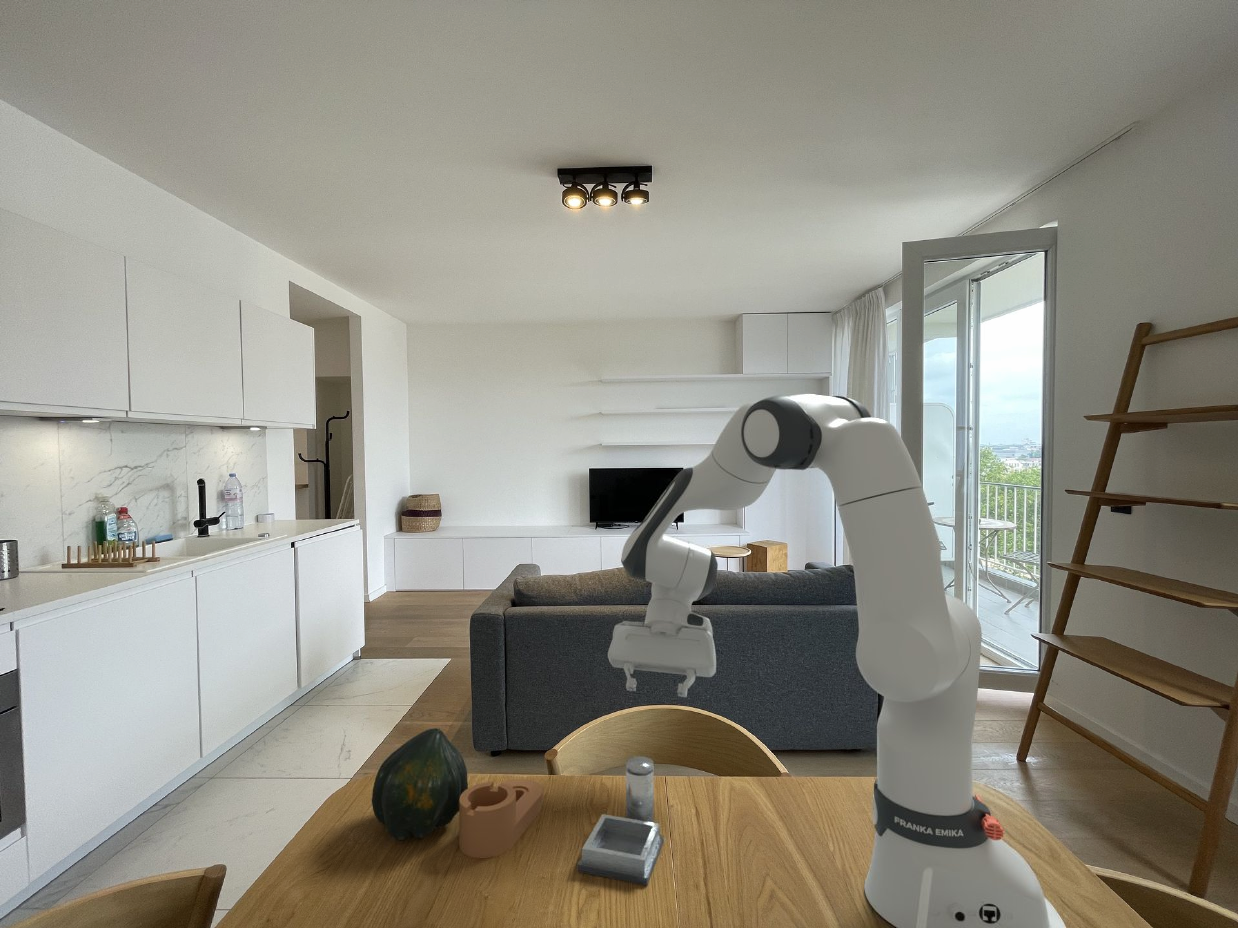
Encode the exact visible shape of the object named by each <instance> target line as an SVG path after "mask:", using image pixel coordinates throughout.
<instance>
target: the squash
mask: <svg viewBox="0 0 1238 928" xmlns="http://www.w3.org/2000/svg"><path fill="white" fill-rule="evenodd" d="M468 788H469V783H468V770H467V766H466V762H465V760H464V758H463V756H462V755H461V753H460V751H459V750H458V749H457V748H456V746H454V745H453V743H452V742H451V741H450V740H449V739H448V737H447V736H446V734H445V733H444V732H443V731H442V730H441V729H440V727H436V728H428V729H426V730H423V731H422V732H420V733H419V734H417V735H415V736H413V737H412V738H410V739H408V740H407V741H406V742H405V743H403V744H402V745H400V747H398V748H397V749H396V750H394V751H393V752H392V753H391V754H389V756H388V757H386V759H384V761H383V762H382V763H381V765H380V766H379V768H378V770H377V773H376V776H375V779H374V783H373V786H372V794H371V805H372V811H373V814H374V816H375V818H376V820H377V821H378V823H380V824H382V825H384V826H385V828H386V831H387V834H388V835H389V837H391V838H392V839H394V840H396V841H403V840H406V839H408V838H409V837H411V836H412V835H413V836H414V837H415V838H417V839H422V838H425V837H427V836H429V835H430V834H431V833H432V832H433V831H434V830H435V829H441V828H444V827H446V826H448V825H450V823H451V822H452V820H453V819H454V817H455V816H456V815H457V814H458V813H459V804H460V796H461V794H462V793H463V792H464V791H465V790H466V789H468Z"/></svg>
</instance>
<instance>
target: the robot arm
mask: <svg viewBox="0 0 1238 928" xmlns="http://www.w3.org/2000/svg"><path fill="white" fill-rule="evenodd" d="M807 469H818V470H821V471H822V472H823V473H824V474H825V475H826V477H827V478H828V481H829V482H830V485H831V488H832V491H833V495H834V499H835V504H836V506H837V510H838V513H839V518H840V520H841V524H842V528H843V532H844V535H845V536H844V537H845V538H846V542H847V546H848V550H849V553H850V557H851V563H852V567H853V573H854V576H853V577H854V584H855V595H856V596H855V597H856V607H857V618H858V619H857V620H858V637H857V642H856V647H855V658H856V659H855V660H856V664H857V668H858V670H859V672H860V674H861V676H862V677H863V679H864V680H865V682H866V683H867V684H868V686H869V687H871V689H873V690H874V691H875V692H877V694H879V695H881V696H883V702H882V707H881V710H880V714H879V716H878V719H877V725H876V736H877V737H876V747H877V748H876V755H877V756H876V757H877V758H876V770H877V771H876V773H877V775H876V776H877V778H876V779H875V780H874V783H873V792H872V822H873V826H874V830H875V832H874V833H875V835H874V843H873V848H872V849H873V850H872V855H871V856H872V857H871V861H870V864H869V868H868V869H869V870H868V873H867V875H866V879H865V881H864V887H863V888H864V889H863V890H864V894H865V896H866V899H867V902H868V903H869V904H870V905H871V907H872V908H873V909H874V911H875V912H877V913H878V915H879V916H881V917H882V918H883V919H884V920H885V921H887V922H888V923H890V924H891V925H893V926H894V927H896V928H1067V926H1066V925H1065V922H1064V920H1063V919H1062V917H1061V916H1060V914H1059V913H1058V911H1057V909H1056V908H1055V907H1054V906H1053V905H1052V903H1051V902H1050V901H1049V900H1048V899H1047V897H1045V896H1044V891H1043V890H1042V887H1041V883H1040V882H1039V880H1038V877H1037V875H1036V874H1035V873H1034V871H1033V870H1032V868H1031V866H1030V864H1028V862H1027V861H1026V860H1025V858H1024V857H1023V856H1022V855H1021V854H1020V853H1019V852H1018V851H1016V849H1014V848H1013V847H1011V846H1010V845H1009V844H1008V843H1006V842H1005V841H1004V840H1003V839H1002V838H1004V834H1005V832H1004V828H1003V827H1002V825H1001V824H1000V821H999V820H998V819H997V818H996V817H995V816H993V815H991V811H990V809H989V807H988V806H987V805H986V804H985V803H984V802H983V801H982V800H981V798H980V797H979V795H977V793H974V795H973V743H974V742H973V741H974V740H973V738H974V726H975V719H976V712H977V711H976V709H977V704H978V703H977V702H978V691H979V683H980V682H979V680H980V669H981V667H980V666H981V649H982V648H981V647H982V639H983V638H982V636H983V635H982V633H983V632H982V627H981V623H980V620H979V618H978V616H977V614H976V612H975V611H974V610H973V608H971V606H970V605H968V604H967V603H966V602H965V601H963V600H961V599H960V598H958V597H955V596H953V595H950V594H946V592H945V584H944V577H943V570H942V560H941V559H942V558H941V557H942V555H941V553H942V545H941V541H940V538H939V536H938V532H937V529H936V526H935V523H934V519H933V516H932V514H931V511H930V508H929V507H930V506H929V503H928V500H927V497H926V494H925V492H924V488H923V484H922V481H921V479H920V476H919V473H918V471H917V468H916V466H915V463H914V461H913V459H912V457H911V455H910V453H909V450H908V447H906V444H905V442H904V441H903V439H902V436H901V435H900V433H899V432H898V430H897V428H896V427H895V426H894V425H893V424H892V423H890V422H889V421H887V420H885V419H882V418H877V417H872V415H871V413H870V412H869V410H868V409H867V408H866V406H864V405H863V404H862V403H861V402H859V401H857V400H854V399H853V398H849V397H846V396H842V395H834V396H831V395H830V396H829V395H819V394H813V393H800V394H791V395H773V396H769V397H766V398H763V399H761V400H758V401H750V402H746V403H745V404H742V405H741V406H740V407H739V408H738V409H737V410H736V411H735V412H734V414H733V415H732V417H731V418H730V419H729V420H728V422H727V423H726V425H725V426H724V428H723V430H722V431H721V433H720V434H719V436H718V438H717V440H716V442H715V443H714V445H713V447H712V450H711V451H710V453H709V455H707V457H706V458H704V459H703V460H702V461H701V462H699V463H698V464H696V465H694V466H692V467H686V468H683V469H682V470H681V471H680V472H678V473H677V474H676V476H675V477H674V478H673V480H671V482H670V483H669V484H668V485H667V487H666V488H665V490H663V493H661V495H660V496H659V498H658V500H657V501H656V502H655V503H654V505H653V506H652V508H651V509H650V510H649V512H648V513H647V514H646V516H645V518H644V519H643V520H642V521H641V522H640V524H639V525H638V526H636V528H635V529H634V530H633V531H632V533H631V534H630V535H629V536H628V538H627V539H626V541H625V543H624V545H623V547H622V553H621V560H620V561H621V562H620V563H621V565H622V566H623V568H624V570H625V572H626V573H627V575H628V576H629V577H630V578H631V579H634V580H635V579H636V580H639V581H644V582H649V583H651V598H650V600H649V602H648V605H647V610H646V614H645V619H644V621H629V620H623V621H622V622H619V623H617V624H615V626H614V628H613V631H612V640H611V642H610V645H609V648H608V652H607V659H608V660H609V663H610V664H611V666H612V667H613V668H616V669H617V668H618V669H623V671H624V672H625V676H626V683H625V688H626V690H627V691H629V692H636V689H637V688H636V687H637V684H638V682H637V679H636V678H633V677H632V676H631V675H633V674H634V670H639V671H645V672H656V673H666V674H675V675H676V674H677V675H682V676H683V675H685V676H686V679H684V681H683V683H680V682H679V683H678V685H677V692H676V693H677V696H678V697H681V698H687V697H688V696H687V695H688V689H690V687H691V686H692V685H693V684H694V683H695V681H696V677H703V678H711V677H713V676H714V675H715V674H716V672H717V654H716V653H717V652H716V647H715V645H716V644H715V641H714V638H713V637H714V636H713V635H714V632H713V631H714V630H713V626H712V623H711V620H710V619H709V618H708V617H705V616H703V615H700V614H698V613H695V612H693V611H692V604H693V602H698V601H700V600H701V599H703V598H704V597H706V596H708V595H710V593H711V592H712V591H713V590H714V587H715V584H716V581H717V575H718V567H719V564H718V560H717V558H716V556H715V553H714V552H713V551H712V550H711V549H709V548H708V547H705V546H703V545H700V544H698V543H694V542H690V541H687V540H684V539H681V538H678V537H675V536H671V535H669V534H666V532H667V531H668V529H669V528H670V527H671V526H672V523H674V521H676V519H677V518H678V516H680V515H682V514H683V513H685V512H688V511H689V512H690V511H697V510H698V511H699V510H715V511H716V510H717V511H735V510H741V509H743V508H746V507H748V506H752V505H753V504H754V503H755V502H757V500H758V499H759V498H760V497H761V496H762V495H763V493H764V492H765V491H766V489H767V487H768V485H769V484H770V482H771V480H772V479H773V476H774V475H775V472H776V470H783V471H784V470H795V471H796V470H797V471H799V470H800V471H804V470H807Z"/></svg>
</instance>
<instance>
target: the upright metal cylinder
mask: <svg viewBox="0 0 1238 928" xmlns="http://www.w3.org/2000/svg"><path fill="white" fill-rule="evenodd" d="M654 769H655V767H654V760H652V759H651V758H650V757H646V756H641V755H640V756H639V755H638V756H633V757H630V758H628V759H626V761H625V818H628V819H634V820H640V821H646V822H652V823H654V816H655V815H654V811H655V810H654V808H655V807H654V796H655V795H654V787H655V786H654V774H655V773H654V772H655V771H654Z"/></svg>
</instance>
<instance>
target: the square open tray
mask: <svg viewBox="0 0 1238 928" xmlns="http://www.w3.org/2000/svg"><path fill="white" fill-rule="evenodd" d="M660 828H661V827H660V823H656V822H653V823H652V822H646V821H640V820H634V819H628V818H626V817H622V816H615V815H610V814H603V813H602V814H601V816H600V818H599V819H598V821H597V822H596V824H595V825H594V827H593V830H592V831H591V833H590V834H589V836H588V838H587V839H586V841H585V843H584V845H582V848H581V858H580V860H579V861H578V863H577V865H576V866H577V872H578V873H582V874H586V875H591V876H592V875H593V876H597V877H603V878H607V879H611V880H612V879H613V880H616V881H617V880H618V881H622V882H627V883H632V884H637V885H643V886H648V885H649V882H650V880H651V877H652V874H653V872H654V868H655V865H656V863H657V860H658V858H659V855H660V852H661V850H662V848H663V845H664V839H665V838H664V835H660V832H661V831H660V830H661V829H660Z"/></svg>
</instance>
